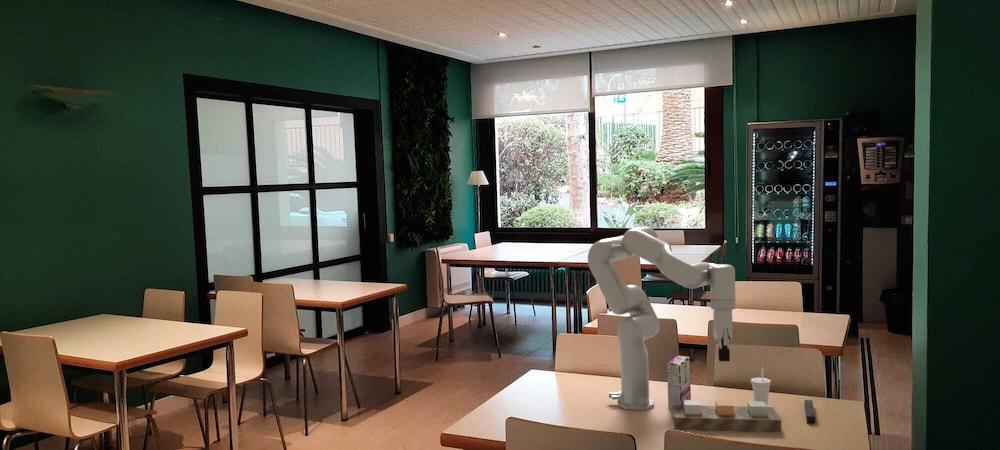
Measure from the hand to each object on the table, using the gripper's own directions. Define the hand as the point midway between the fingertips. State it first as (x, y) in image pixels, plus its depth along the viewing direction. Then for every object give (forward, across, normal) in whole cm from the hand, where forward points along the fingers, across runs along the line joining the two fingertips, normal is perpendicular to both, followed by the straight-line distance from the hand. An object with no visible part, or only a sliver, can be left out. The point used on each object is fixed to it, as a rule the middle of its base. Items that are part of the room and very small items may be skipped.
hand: (724, 360), depth 222 cm
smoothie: (+21, -17, +14) cm, 30 cm away
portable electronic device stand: (+22, -11, +28) cm, 37 cm away
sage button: (+18, 0, +10) cm, 21 cm away
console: (+21, 0, 0) cm, 21 cm away
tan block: (+18, 0, 0) cm, 18 cm away
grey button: (+18, 0, -10) cm, 21 cm away
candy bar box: (+21, -17, -13) cm, 30 cm away
